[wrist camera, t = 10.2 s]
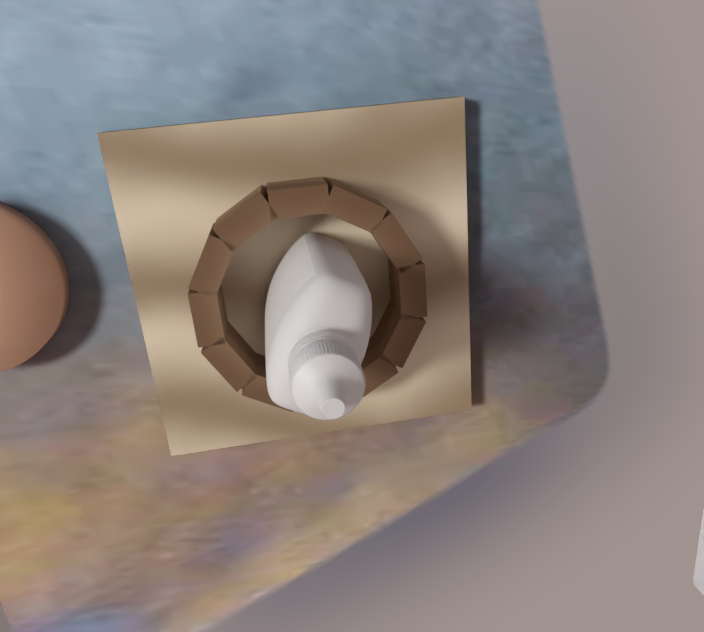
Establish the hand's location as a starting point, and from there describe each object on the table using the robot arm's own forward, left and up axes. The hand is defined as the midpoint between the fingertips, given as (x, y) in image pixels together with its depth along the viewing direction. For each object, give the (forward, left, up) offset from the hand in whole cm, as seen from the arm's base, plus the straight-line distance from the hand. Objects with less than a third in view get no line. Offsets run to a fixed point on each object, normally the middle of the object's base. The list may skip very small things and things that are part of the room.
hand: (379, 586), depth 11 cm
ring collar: (0, 0, -20) cm, 20 cm away
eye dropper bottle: (0, 0, -19) cm, 19 cm away
